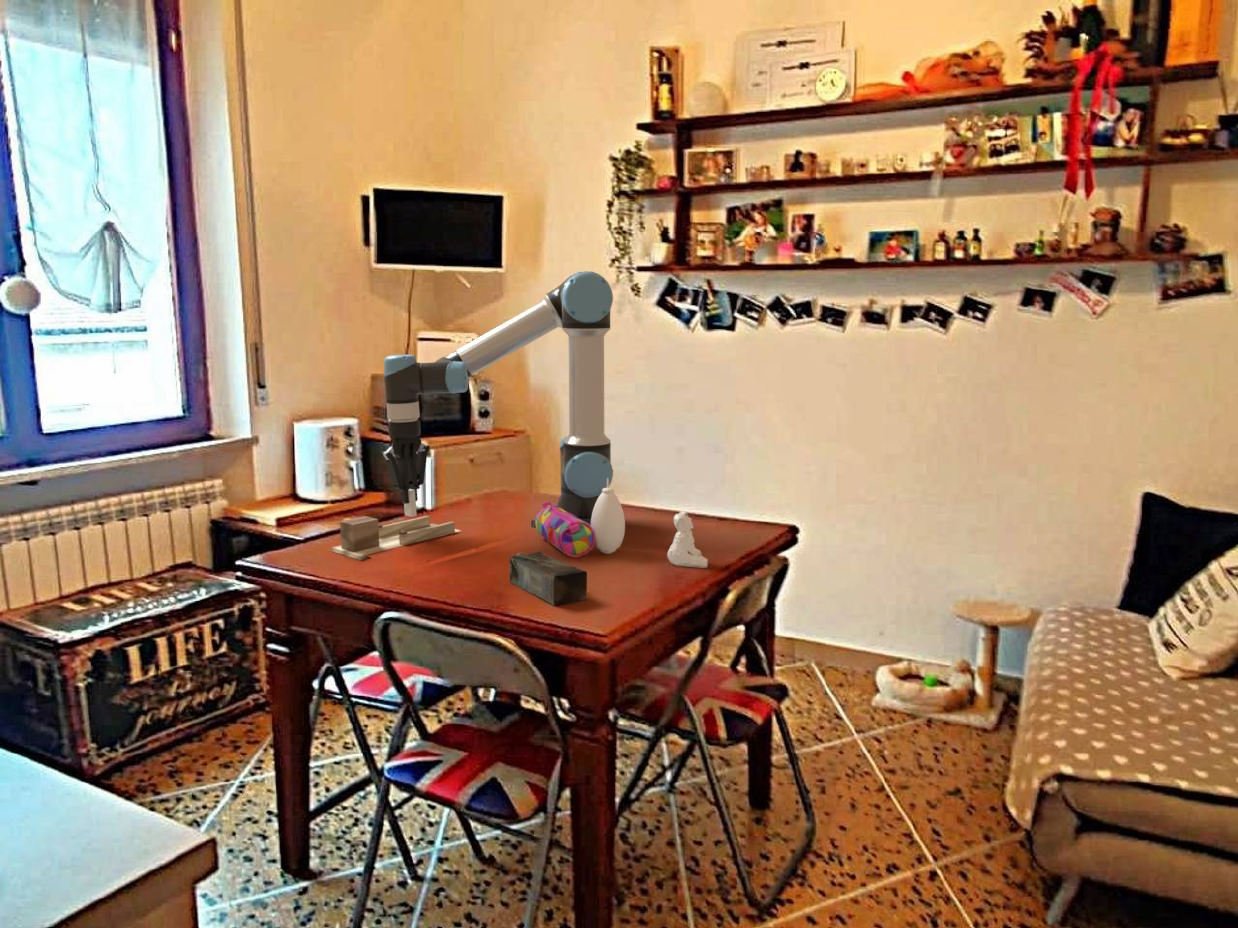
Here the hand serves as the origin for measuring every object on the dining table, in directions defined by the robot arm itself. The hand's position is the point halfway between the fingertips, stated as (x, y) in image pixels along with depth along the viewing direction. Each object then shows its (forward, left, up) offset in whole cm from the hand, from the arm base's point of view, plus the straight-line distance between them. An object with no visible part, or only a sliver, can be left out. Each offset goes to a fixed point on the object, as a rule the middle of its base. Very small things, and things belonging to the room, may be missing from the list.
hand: (410, 515), depth 231 cm
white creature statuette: (-63, -28, -7) cm, 69 cm away
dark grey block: (-53, +7, -7) cm, 54 cm away
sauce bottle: (-44, -23, -7) cm, 50 cm away
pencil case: (-32, -20, -7) cm, 39 cm away
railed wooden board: (+1, +3, -6) cm, 7 cm away
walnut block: (+1, +14, -5) cm, 15 cm away
